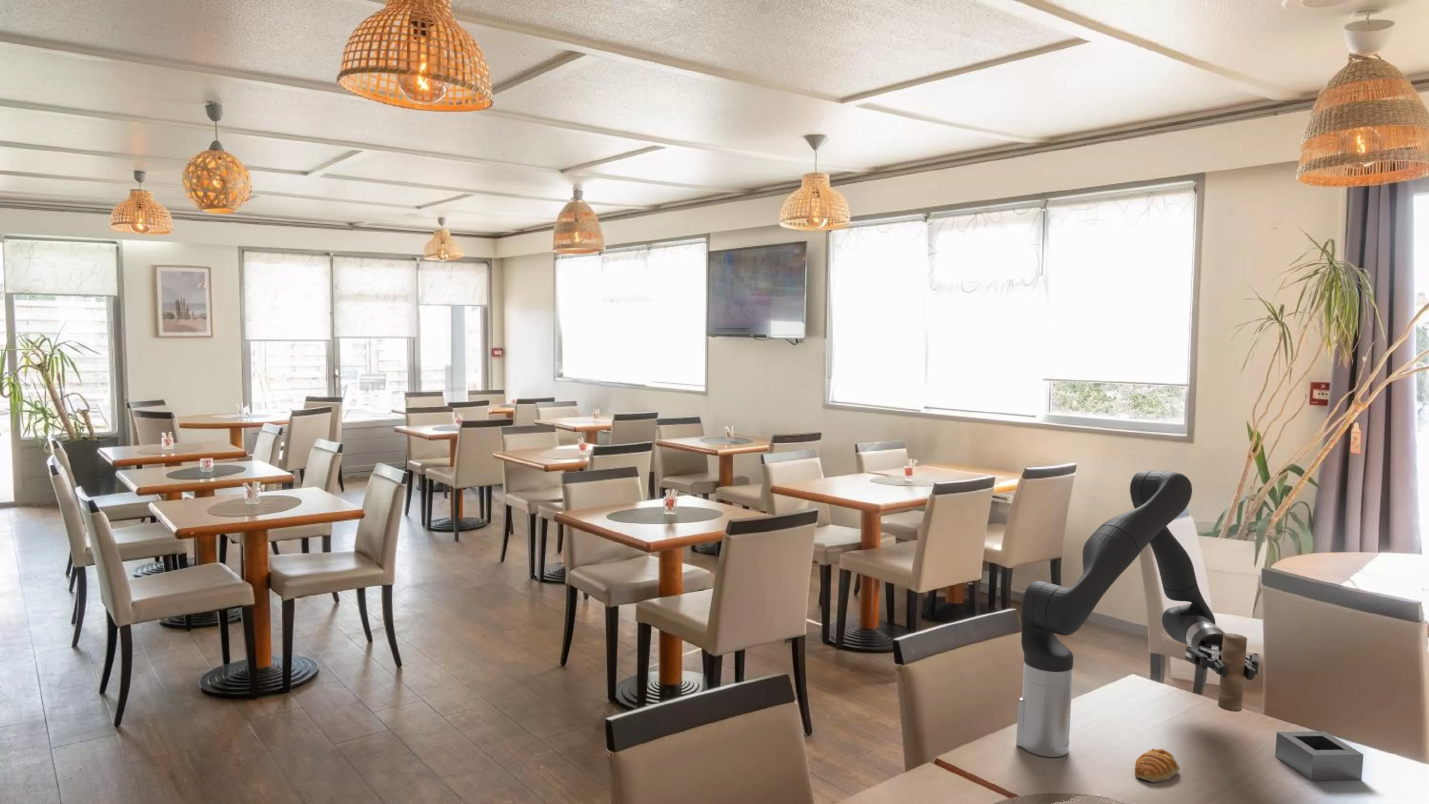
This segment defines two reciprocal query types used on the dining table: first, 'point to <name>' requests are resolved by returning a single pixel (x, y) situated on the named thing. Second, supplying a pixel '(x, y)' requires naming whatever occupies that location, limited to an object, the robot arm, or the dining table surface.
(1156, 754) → the pastry
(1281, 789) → the dining table surface
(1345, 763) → the socket block
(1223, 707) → the peg
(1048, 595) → the robot arm
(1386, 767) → the dining table surface
